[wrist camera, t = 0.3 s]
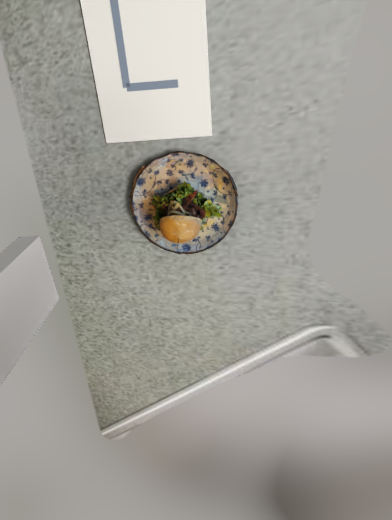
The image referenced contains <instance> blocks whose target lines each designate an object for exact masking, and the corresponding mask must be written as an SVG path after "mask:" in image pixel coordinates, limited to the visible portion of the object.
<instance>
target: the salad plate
mask: <svg viewBox="0 0 392 520" xmlns="http://www.w3.org/2000/svg"><path fill="white" fill-rule="evenodd" d="M132 190H133V191H132V192H131V196H130V198H131V203H130V208H131V211H132V215H133V218H134V220H135V222H136V224H137V225H138V227H139V229H140V231H141V232H142V233H143V234H144V236H145V237H146V238H147V239H148V240H149V241H150V242H152V243H153V244H155V245H157V246H159V247H160V248H162V249H164V250H167V251H171V252H174V253H177V254H193V253H198V252H202V251H204V250H207V249H209V248H211V247H213V246H214V245H216V244H217V243H219V242H220V241H221V240H222V239H224V237H225V236H226V235H227V234H228V232H229V230H230V229H231V227H232V226H233V224H234V221H235V218H236V215H237V207H238V206H237V205H238V197H237V196H238V194H237V192H236V191H237V188H236V185H235V183H234V181H233V178H232V177H231V175H230V174H229V172H228V171H227V170H225V169H224V168H222V167H221V166H220V165H219V164H218V163H217V162H215V161H214V160H212V159H210V158H208V157H206V156H203V155H201V154H195V153H189V152H182V151H177V152H173V153H171V154H168V155H166V156H163V157H160V158H158V159H154V160H152V161H151V162H150V163H149V164H147V165H146V166H142V167H141V169H140V170H139V171H138V172H137V174H136V176H135V178H134V180H133V189H132Z"/></svg>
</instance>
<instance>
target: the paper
mask: <svg viewBox="0 0 392 520" xmlns="http://www.w3.org/2000/svg"><path fill="white" fill-rule="evenodd" d="M80 2H81V8H82V13H83V18H84V24H85V29H86V35H87V40H88V46H89V51H90V56H91V62H92V67H93V73H94V78H95V83H96V89H97V94H98V100H99V105H100V111H101V116H102V121H103V127H104V132H105V138H106V143H115V142H130V141H144V140H158V139H172V138H186V137H201V136H212V125H211V105H210V85H209V65H208V45H207V25H206V5H205V0H80Z"/></svg>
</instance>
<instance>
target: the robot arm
mask: <svg viewBox="0 0 392 520" xmlns="http://www.w3.org/2000/svg"><path fill="white" fill-rule="evenodd" d="M58 300H59V297H58V294H57V291H56V288H55V284H54V281H53V278H52V275H51V272H50V268H49V266H48V262H47V259H46V256H45V253H44V249H43V246H42V243H41V240H40V237H39V236H31V237H19V238H18V239H16V240H15V241H14V242H13V243H12V244H11V245H9V246H8V247H7V248H6V249H5V250H4V251H3V252H1V253H0V387H1V385H2V384H3V382H4V381H5V379H6V378H7V376H8V375H9V373H10V372H11V370H12V369H13V367H14V366H15V364H16V363H17V361H18V360H19V358H20V357H21V355H22V354H23V352H24V351H25V349H26V348H27V346H28V345H29V343H30V342H31V340H32V339H33V337H34V336H35V334H36V333H37V331H38V330H39V328H40V327H41V325H42V324H43V322H44V321H45V319H46V318H47V316H48V315H49V313H50V312H51V310H52V309H53V307H54V306H55V304H56V303H57V301H58Z"/></svg>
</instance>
